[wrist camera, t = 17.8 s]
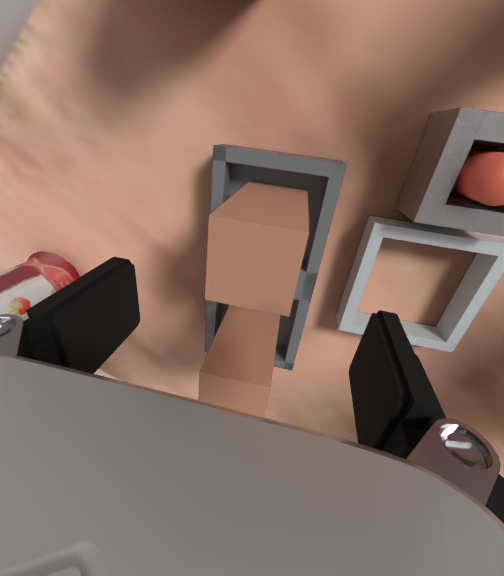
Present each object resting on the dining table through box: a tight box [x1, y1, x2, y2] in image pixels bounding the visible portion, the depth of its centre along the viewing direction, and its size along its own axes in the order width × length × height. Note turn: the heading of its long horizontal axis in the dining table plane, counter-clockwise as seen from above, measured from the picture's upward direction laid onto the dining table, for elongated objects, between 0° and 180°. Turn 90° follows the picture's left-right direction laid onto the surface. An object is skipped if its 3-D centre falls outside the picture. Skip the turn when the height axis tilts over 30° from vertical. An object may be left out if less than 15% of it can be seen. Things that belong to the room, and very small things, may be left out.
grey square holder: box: [396, 108, 504, 236], centre depth 20 cm, size 7×7×4 cm
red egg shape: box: [451, 150, 504, 206], centre depth 19 cm, size 3×3×4 cm
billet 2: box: [199, 305, 280, 418], centre depth 26 cm, size 5×5×12 cm
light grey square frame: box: [336, 216, 504, 352], centre depth 26 cm, size 11×11×2 cm
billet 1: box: [205, 181, 309, 317], centre depth 20 cm, size 5×5×12 cm
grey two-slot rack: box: [205, 144, 347, 370], centre depth 27 cm, size 21×10×3 cm, turn 173°
